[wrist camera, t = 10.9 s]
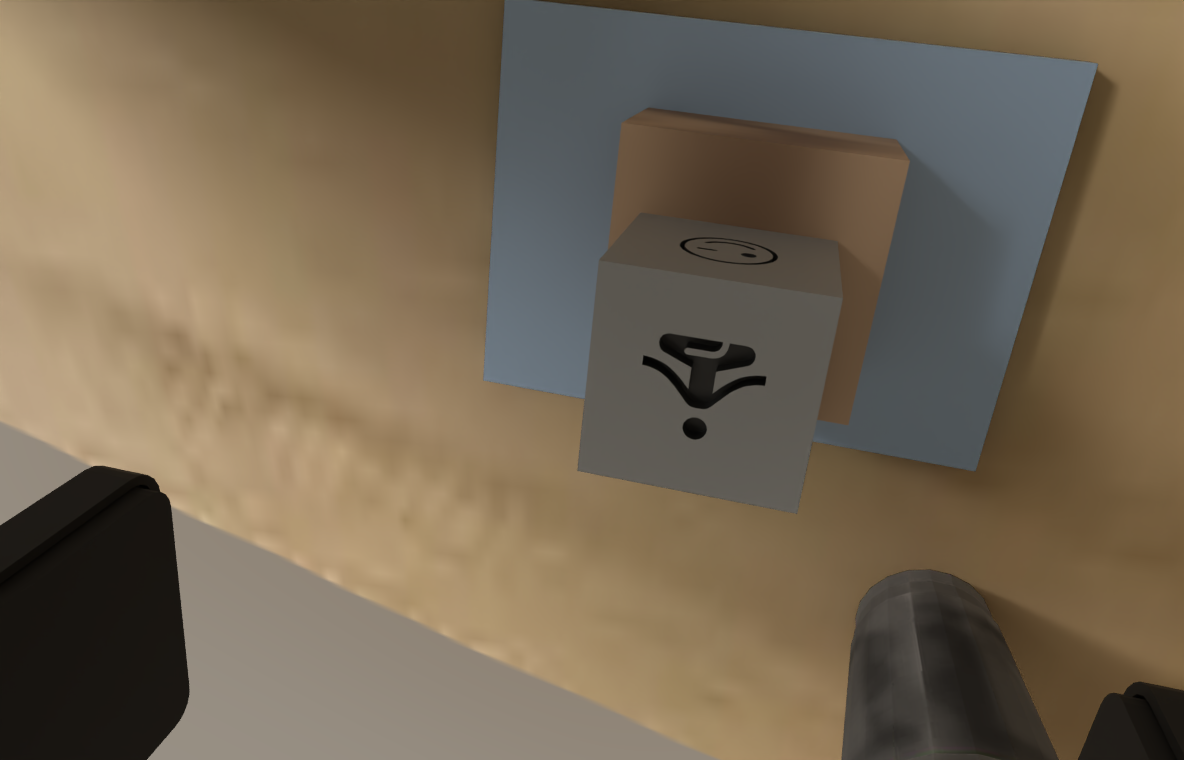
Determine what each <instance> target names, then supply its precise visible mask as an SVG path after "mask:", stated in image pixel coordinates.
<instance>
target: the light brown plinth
mask: <svg viewBox="0 0 1184 760" xmlns="http://www.w3.org/2000/svg"><path fill="white" fill-rule="evenodd" d="M909 163H910V160H909V159H908V157H907V155H906V154H905V152H904V151H903V149H902V147H901V146H900V144H899V143H898V141H897V139H889V138H882V137H874V136H866V135H858V134H851V133H843V132H835V131H827V130H820V129H812V128H804V127H796V126H789V125H781V124H773V123H765V122H758V121H750V120H742V119H734V118H727V117H719V116H711V115H703V114H695V113H688V112H680V111H672V110H664V109H657V108H649V107H648V108H646V109H645V110H643V111H641V112H639V113H638V114H636V115H634V116H632V117H631V118H629V119H627V120H626V121H624V122H622V123H621V132H620V142H619V151H618V160H617V169H616V179H615V188H614V197H613V206H612V216H611V225H610V234H609V243H608V249H609V248H610V247H611V246H612V245H613V243H614V242H615V241H616V240H617V239H618V238H619V236H620V235H621V234H622V233H623V232H624V231H625V230H626V228H627V227H628V226H629V225H630V224H631V223H632V222H633V220H634V219H635V218H636V217H637V216H638V215H639V213H640V212H641V213H648V214H655V215H661V216H668V217H675V218H682V219H689V220H696V221H703V222H710V223H716V224H723V225H730V226H737V227H744V228H751V229H758V230H765V231H772V232H778V233H785V234H792V235H799V236H806V237H813V238H820V239H827V240H834V241H838V250H839V261H840V271H841V282H842V292H843V301H842V306H841V310H840V315H839V320H838V324H837V329H836V334H835V339H834V343H833V348H832V353H831V357H830V362H829V367H828V371H827V376H826V381H825V385H824V390H823V395H822V399H821V404H820V409H819V413H818V418H817V420H821V421H827V422H832V423H838V424H843V425H849V420H850V416H851V412H852V407H853V403H854V399H855V395H856V390H857V386H858V382H859V377H860V373H861V369H862V365H863V360H864V356H865V352H866V347H867V343H868V339H869V335H870V330H871V326H872V322H873V317H874V313H875V309H876V305H877V300H878V296H879V292H880V287H881V283H882V279H883V275H884V270H885V266H886V262H887V257H888V253H889V249H890V245H891V240H892V236H893V232H894V227H895V223H896V219H897V214H898V210H899V206H900V202H901V197H902V193H903V189H904V184H905V180H906V176H907V172H908V167H909Z"/></svg>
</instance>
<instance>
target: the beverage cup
mask: <svg viewBox="0 0 1184 760" xmlns="http://www.w3.org/2000/svg"><path fill="white" fill-rule="evenodd" d="M855 619H856V628H855V632H854V637H853V640H852V644H851V652H850V664H849V676H848V688H847V700H846V712H845V724H844V736H843V748H842V760H1059V759H1058V757H1057V755H1056V753H1055V750H1054V748H1053V746H1052V744H1051V741H1050V739H1049V737H1048V735H1047V733H1046V730H1045V728H1044V726H1043V724H1042V721H1041V719H1040V717H1039V715H1038V712H1037V710H1036V708H1035V706H1034V704H1033V701H1032V699H1031V697H1030V695H1029V692H1028V690H1027V688H1026V686H1025V684H1024V681H1023V679H1022V677H1021V675H1020V672H1019V670H1018V668H1017V666H1016V664H1015V661H1014V659H1013V657H1012V655H1011V652H1010V650H1009V648H1008V646H1007V644H1006V641H1005V639H1004V637H1003V635H1002V633H1001V631H1000V629H999V626H998V624H997V623H996V622H995V621H994V620H993V618H992V616H991V613H990V611H989V609H988V607H987V605H986V603H985V600H984V598H983V597H982V596H981V595H980V594H979V593H978V592H977V591H976V590H975V589H974V588H973V587H972V586H971V585H970V584H968V583H966V582H964V581H962V580H960V579H958V578H956V577H954V576H953V575H950V574H946V573H941V572H937V571H933V570H910V571H905V572H901V573H898V574H895V575H892V576H888V577H886V578H885V579H883V580H882V581H880V582H879V583H877V584H876V585H874V586H873V587H871V588H870V590H869V591H868V592H867V594H866V595H865V596H864V597H863V599H862V600H861V601H860V604H859V608H858V611H857V614H856V618H855Z"/></svg>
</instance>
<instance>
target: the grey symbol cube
mask: <svg viewBox="0 0 1184 760" xmlns="http://www.w3.org/2000/svg"><path fill="white" fill-rule="evenodd" d="M842 301H843V292H842V282H841V271H840V261H839V250H838V241H834V240H827V239H820V238H813V237H806V236H799V235H792V234H785V233H778V232H772V231H765V230H758V229H751V228H744V227H737V226H730V225H723V224H716V223H710V222H703V221H696V220H689V219H682V218H675V217H668V216H661V215H655V214H648V213H641V212H640V213H639V215H638V216H637V217H636V218H635V219H634V220H633V222H632V223H631V224H630V225H629V226H628V227H627V228H626V230H625V231H624V232H623V233H622V234H621V235H620V236H619V238H618V239H617V240H616V241H615V242H614V243H613V245H612V246H611V247H610V248H609V249H608V250H607V251H606V253H605V254H604V255H603V256H602V257H601V258H600V259H599V263H598V273H597V283H596V292H595V302H594V312H593V322H592V332H591V342H590V352H589V361H588V371H587V381H586V391H585V401H584V411H583V421H582V430H581V440H580V450H579V460H578V470H577V471H581V472H586V473H591V474H596V475H601V476H606V477H612V478H617V479H622V480H627V481H632V482H637V483H642V484H647V485H652V486H657V487H663V488H668V489H673V490H678V491H683V492H688V493H693V494H698V495H703V496H709V497H714V498H719V499H724V500H729V501H734V502H739V503H744V504H749V505H755V506H760V507H765V508H770V509H775V510H780V511H785V512H790V513H795V514H797V512H798V507H799V502H800V498H801V493H802V488H803V484H804V479H805V474H806V470H807V465H808V460H809V456H810V451H811V446H812V442H813V437H814V432H815V427H816V423H817V418H818V413H819V409H820V404H821V399H822V395H823V390H824V385H825V381H826V376H827V371H828V367H829V362H830V357H831V353H832V348H833V343H834V339H835V334H836V329H837V324H838V320H839V315H840V310H841V306H842Z"/></svg>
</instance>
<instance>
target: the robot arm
mask: <svg viewBox="0 0 1184 760" xmlns="http://www.w3.org/2000/svg"><path fill="white" fill-rule="evenodd" d="M188 698H189V678H188V669H187V659H186V649H185V639H184V629H183V619H182V610H181V600H180V591H179V581H178V571H177V561H176V551H175V541H174V531H173V522H172V512H171V505H170V500H169V499H168V497H167V496H166V494H164V493H162V492H160V489H159V485H158V484H157V482H156V481H155V479H154V478H152V477H150V476H148V475H144V474H140V473H135V472H130V471H125V470H120V469H116V468H111V467H106V466H93V467H91V468H89V469H86V470H84V471H83V472H81V473H80V474H78V475H77V476H75V477H74V478H72V479H71V480H69V481H68V482H66V483H65V484H63V485H61V486H60V487H58V488H57V489H55V490H54V491H52V492H51V493H49V494H48V495H46V496H45V497H43V498H42V499H40V500H38V501H37V502H35V503H34V504H32V505H31V506H29V507H28V508H27V509H25V510H23V511H22V512H20V513H19V514H17V515H16V516H14V517H13V518H11V519H9V520H8V521H6V522H5V523H3V524H2V525H0V760H147V759H148V758H149V756H150V755H151V754H152V753H153V752H154V751H155V749H156V748H157V747H158V746H159V745H160V744H161V743H162V741H163V740H164V739H165V738H166V737H167V736H168V734H169V733H170V732H171V731H172V730H173V729H174V728H175V726H176V725H177V723H178V722H179V721H180V719H181V717H182V715H183V713H184V711H185V709H186V706H187V703H188ZM1078 760H1184V691H1183V690H1178V689H1173V688H1168V687H1164V686H1159V685H1154V684H1149V683H1144V682H1135V683H1133V684H1132V685H1130V686H1129V687H1128V688H1127V689H1126V691H1125V693H1124V695H1122V694H1117V693H1110V694H1108V695H1107V696H1106V697H1105V698H1104V700H1103V702H1102V703H1101V705H1100V708H1099V710H1098V713H1097V715H1096V717H1095V720H1094V722H1093V725H1092V727H1091V729H1090V732H1089V734H1088V737H1087V739H1086V742H1085V744H1084V746H1083V749H1082V751H1081V754H1080V756H1079V758H1078Z"/></svg>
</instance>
